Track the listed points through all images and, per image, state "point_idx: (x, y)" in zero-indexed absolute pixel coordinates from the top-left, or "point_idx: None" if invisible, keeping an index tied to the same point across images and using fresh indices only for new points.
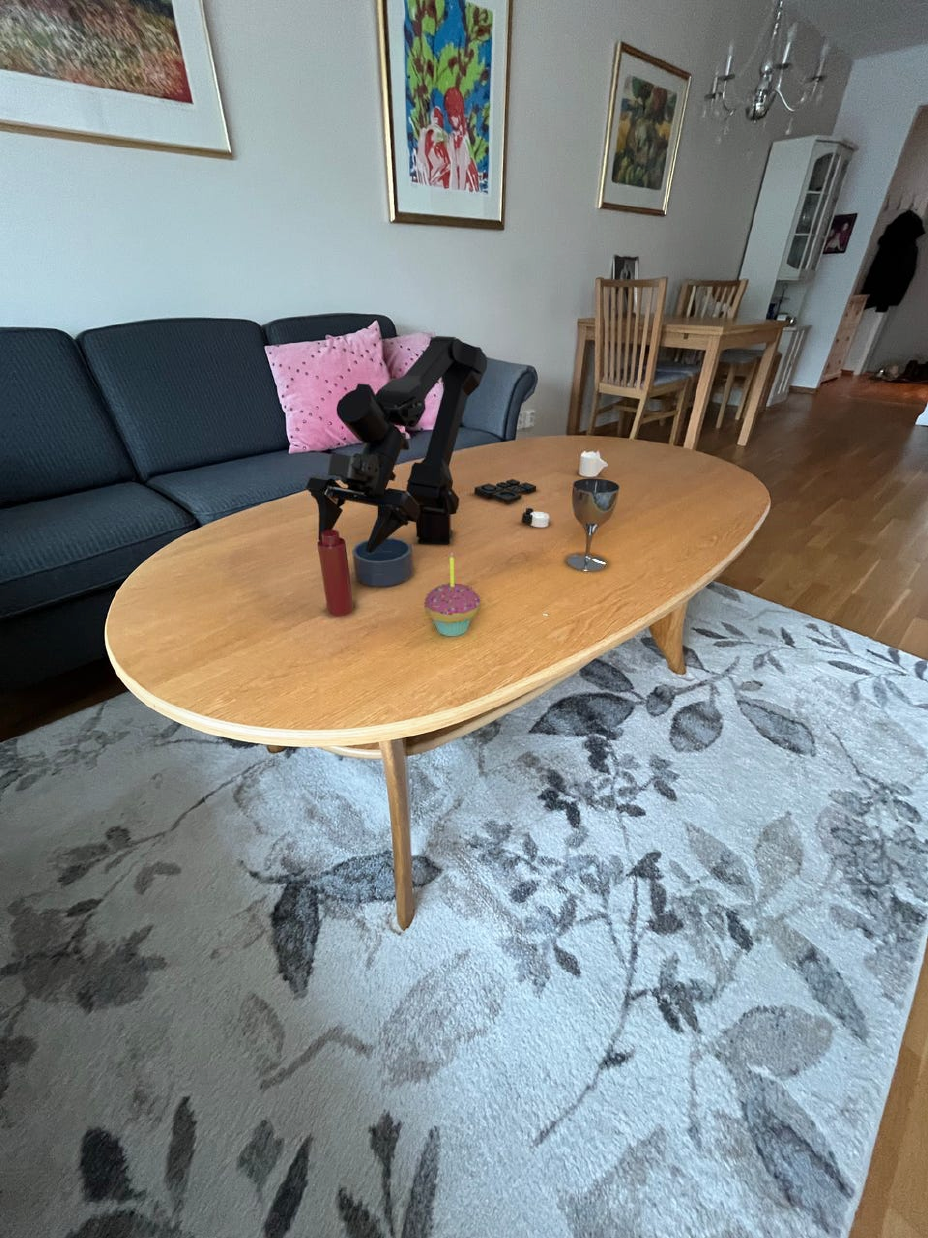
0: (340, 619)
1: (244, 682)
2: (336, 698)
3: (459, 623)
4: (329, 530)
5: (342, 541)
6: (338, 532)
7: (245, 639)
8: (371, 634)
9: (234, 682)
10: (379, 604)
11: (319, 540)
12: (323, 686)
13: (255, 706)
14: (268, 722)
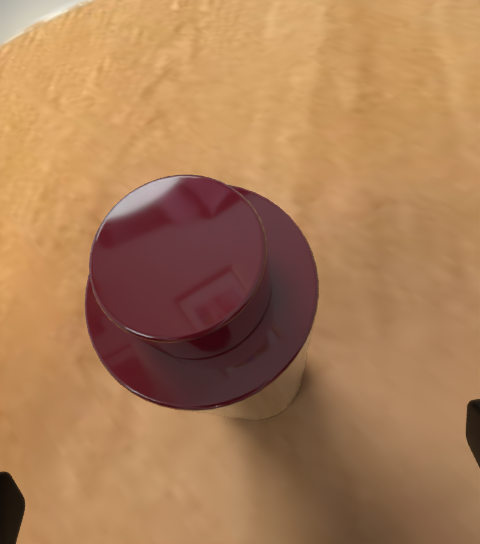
0: None
1: (202, 37)
2: (4, 113)
3: None
4: (228, 290)
5: (124, 351)
6: (109, 314)
7: (350, 107)
8: (70, 321)
9: (219, 26)
10: (160, 491)
11: (306, 247)
12: (50, 118)
13: (126, 20)
14: (75, 16)
